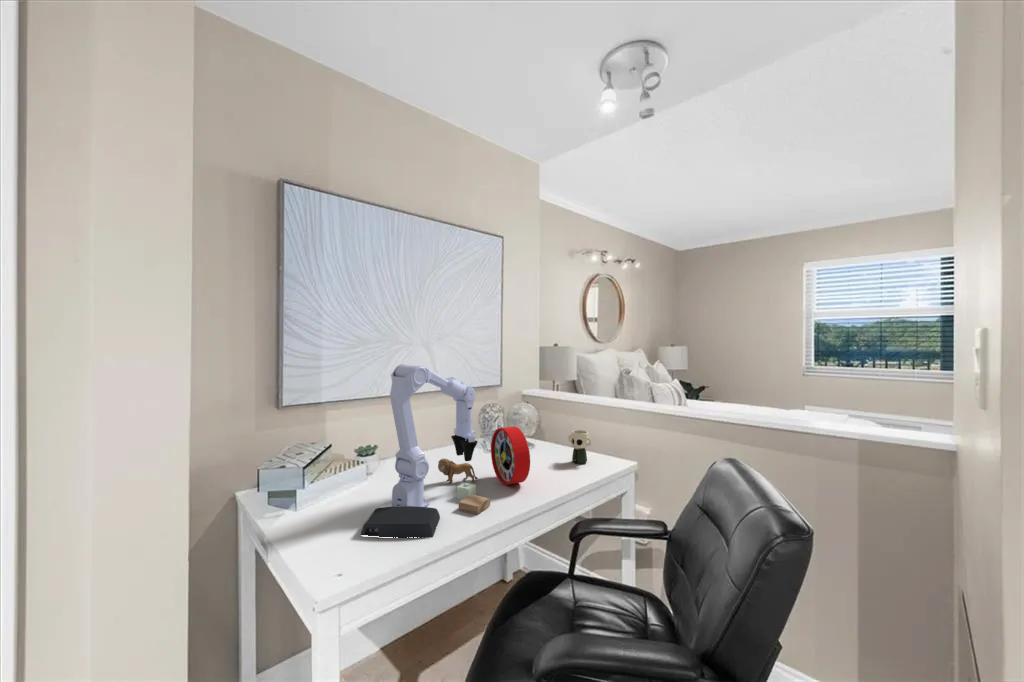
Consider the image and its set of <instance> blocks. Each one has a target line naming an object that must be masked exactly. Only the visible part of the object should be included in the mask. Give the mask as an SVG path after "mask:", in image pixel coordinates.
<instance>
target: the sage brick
mask: <svg viewBox="0 0 1024 682" xmlns="http://www.w3.org/2000/svg"><path fill="white" fill-rule="evenodd" d="M471 494H472V495H477V484H475V483H471V482H470V483H469V482H463V483H461V484H459V485H457V486H456V499H457V498H458V499H457V500H461V499H462V500H463V499H465V498H466V497H468V496H469V495H471Z"/></svg>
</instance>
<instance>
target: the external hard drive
mask: <svg viewBox="0 0 1024 682" xmlns="http://www.w3.org/2000/svg"><path fill="white" fill-rule="evenodd" d="M440 520H441V515H440V511H439V510H438V509H437V508H435V507H429V506H425V507H419V506H382V507H377V508H375V509H374V510H373V512H372V513H371V514H370V515H369V517H368V519H367V520H366V521H365V522H364V524H363V526H362V528H361V532H360V535H368V536H379V537H393V538H394V537H395V538H396V537H398V538H407V537H408V538H409V537H413V538H412V539H415V538H414V537H417V538H416V539H426V538H425V537H431V538H433V537H434V535H435V533H436V530H437V528H436V527H438V525H439V522H440ZM418 537H420V538H418ZM422 537H424V538H422ZM409 539H410V538H409Z"/></svg>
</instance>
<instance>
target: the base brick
mask: <svg viewBox="0 0 1024 682" xmlns="http://www.w3.org/2000/svg"><path fill="white" fill-rule="evenodd" d="M489 506H490V507H491V498H489V497H485V496H481V495H477V494H476V495H472V494H471V495H469V496H468V497H466V498H465V499H463V500H461V499H460V501H458V511H460V512H464V511H465V512H464V513H468V512H469V513H468V514H472V513H473V514H472V515H476V514H477V516H479V515H481V512H482V513H483V512H484V511H486V510H487V509H488V507H489ZM490 507H489V508H490ZM486 508H487V509H486ZM485 509H486V510H485ZM478 514H479V515H478Z"/></svg>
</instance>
